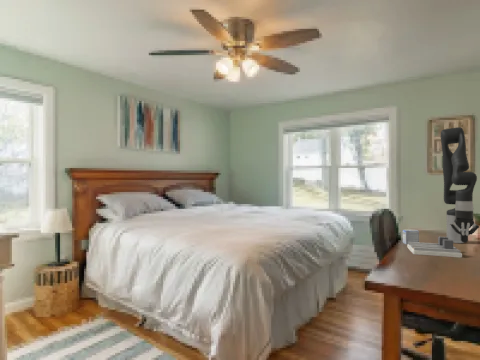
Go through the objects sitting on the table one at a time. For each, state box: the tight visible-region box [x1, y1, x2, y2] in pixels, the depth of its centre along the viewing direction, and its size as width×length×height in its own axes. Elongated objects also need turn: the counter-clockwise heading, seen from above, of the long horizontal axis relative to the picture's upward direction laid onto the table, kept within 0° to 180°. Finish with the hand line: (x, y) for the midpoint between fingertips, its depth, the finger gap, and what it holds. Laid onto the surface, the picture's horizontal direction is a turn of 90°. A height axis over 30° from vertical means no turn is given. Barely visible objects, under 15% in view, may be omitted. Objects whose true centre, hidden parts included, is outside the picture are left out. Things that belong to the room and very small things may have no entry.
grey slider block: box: [443, 239, 454, 249], centre depth 155 cm, size 3×4×6 cm
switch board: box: [406, 241, 463, 258], centre depth 160 cm, size 16×22×4 cm
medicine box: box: [402, 229, 420, 245], centre depth 181 cm, size 8×4×9 cm, turn 84°
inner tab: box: [437, 236, 448, 246], centre depth 162 cm, size 3×4×6 cm
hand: (464, 242), depth 152 cm, fingers closed
